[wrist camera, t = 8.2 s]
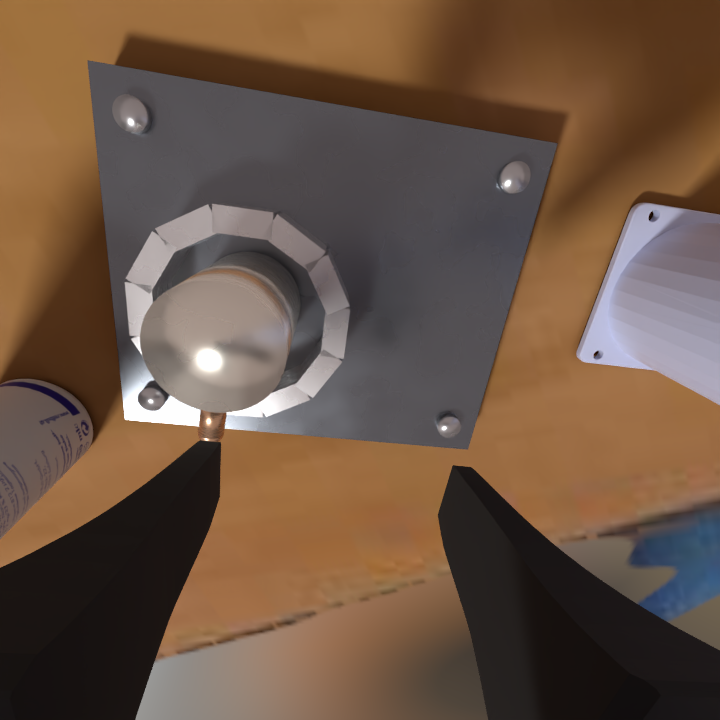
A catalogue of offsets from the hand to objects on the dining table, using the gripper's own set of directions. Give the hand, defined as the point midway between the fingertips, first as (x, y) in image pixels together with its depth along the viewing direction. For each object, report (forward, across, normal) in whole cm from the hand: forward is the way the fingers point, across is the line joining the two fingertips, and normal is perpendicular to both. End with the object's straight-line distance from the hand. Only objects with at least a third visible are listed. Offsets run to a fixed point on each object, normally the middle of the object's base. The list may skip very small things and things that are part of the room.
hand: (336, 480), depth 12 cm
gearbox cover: (+9, +1, -4) cm, 10 cm away
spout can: (+8, +4, -3) cm, 9 cm away
